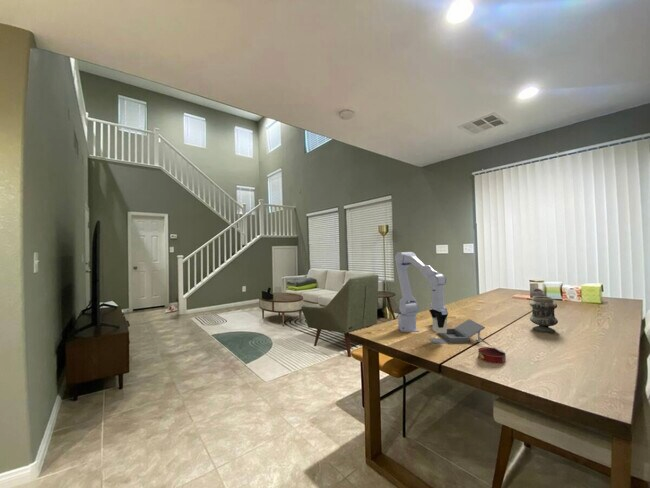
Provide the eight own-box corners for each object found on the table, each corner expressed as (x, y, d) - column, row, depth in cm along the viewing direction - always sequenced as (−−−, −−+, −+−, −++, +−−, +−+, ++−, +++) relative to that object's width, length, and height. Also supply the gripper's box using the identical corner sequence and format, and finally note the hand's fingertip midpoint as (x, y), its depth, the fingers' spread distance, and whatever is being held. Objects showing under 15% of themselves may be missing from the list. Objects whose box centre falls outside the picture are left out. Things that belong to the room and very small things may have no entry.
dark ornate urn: (547, 326, 155) (547, 294, 155) (564, 333, 143) (563, 299, 143) (524, 326, 157) (524, 295, 156) (539, 333, 145) (538, 299, 144)
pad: (434, 344, 134) (434, 343, 134) (428, 339, 141) (428, 338, 141) (449, 343, 134) (448, 343, 134) (442, 338, 141) (442, 338, 141)
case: (450, 343, 134) (450, 328, 134) (438, 333, 148) (437, 319, 148) (485, 342, 134) (485, 327, 134) (469, 332, 149) (469, 319, 149)
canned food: (481, 364, 121) (480, 341, 125) (508, 368, 115) (506, 343, 119) (474, 360, 114) (474, 335, 118) (503, 363, 107) (501, 337, 112)
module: (436, 332, 135) (436, 319, 135) (432, 329, 140) (432, 317, 140) (446, 332, 135) (446, 319, 135) (442, 329, 140) (442, 317, 140)
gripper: (452, 301, 130) (453, 330, 130) (439, 295, 144) (440, 321, 144) (437, 301, 130) (438, 330, 130) (426, 295, 144) (426, 321, 144)
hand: (438, 325), depth 137 cm, fingers closed on module, 5 cm apart
